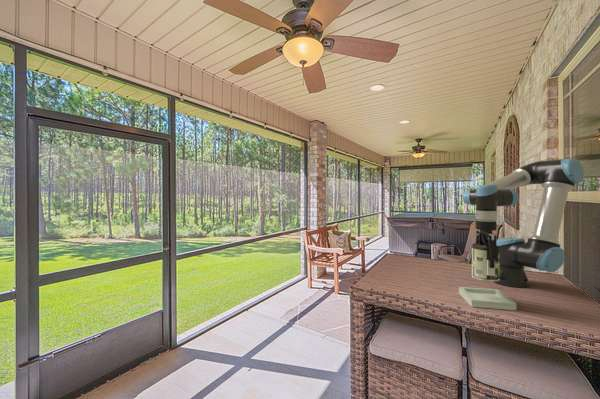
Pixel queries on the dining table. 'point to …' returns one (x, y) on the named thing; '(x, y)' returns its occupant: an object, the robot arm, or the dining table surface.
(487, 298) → the base plate
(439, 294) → the dining table surface
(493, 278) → the coffee can
